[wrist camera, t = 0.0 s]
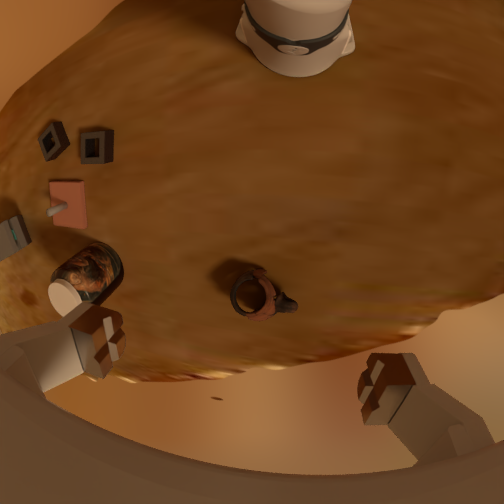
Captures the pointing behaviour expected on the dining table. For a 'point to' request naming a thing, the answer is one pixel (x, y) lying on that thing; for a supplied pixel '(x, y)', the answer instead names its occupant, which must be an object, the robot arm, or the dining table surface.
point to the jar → (86, 278)
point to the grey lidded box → (13, 236)
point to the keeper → (68, 204)
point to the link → (104, 147)
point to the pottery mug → (270, 306)
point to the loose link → (59, 137)
